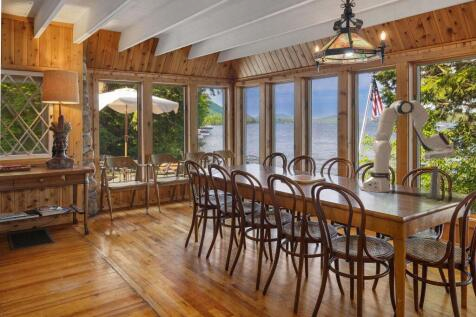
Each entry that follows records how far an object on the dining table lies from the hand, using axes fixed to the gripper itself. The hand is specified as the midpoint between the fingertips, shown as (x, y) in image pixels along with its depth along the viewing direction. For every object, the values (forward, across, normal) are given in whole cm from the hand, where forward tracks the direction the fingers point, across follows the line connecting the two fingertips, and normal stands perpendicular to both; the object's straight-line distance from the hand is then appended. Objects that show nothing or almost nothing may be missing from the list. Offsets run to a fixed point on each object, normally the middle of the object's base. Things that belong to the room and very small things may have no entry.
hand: (436, 157), depth 275 cm
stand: (+20, 0, +24) cm, 31 cm away
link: (+15, -1, +22) cm, 27 cm away
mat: (+11, -8, +24) cm, 28 cm away
